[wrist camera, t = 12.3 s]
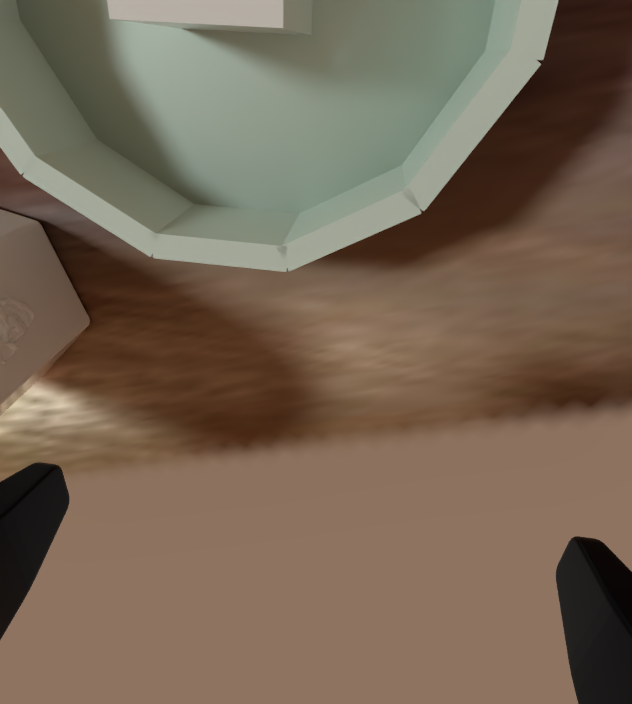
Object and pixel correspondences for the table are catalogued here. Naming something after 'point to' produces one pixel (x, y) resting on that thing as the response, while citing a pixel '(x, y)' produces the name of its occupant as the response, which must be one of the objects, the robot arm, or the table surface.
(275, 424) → the table surface
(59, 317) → the lidded white canister
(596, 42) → the table surface
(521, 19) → the bowl
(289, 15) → the block
